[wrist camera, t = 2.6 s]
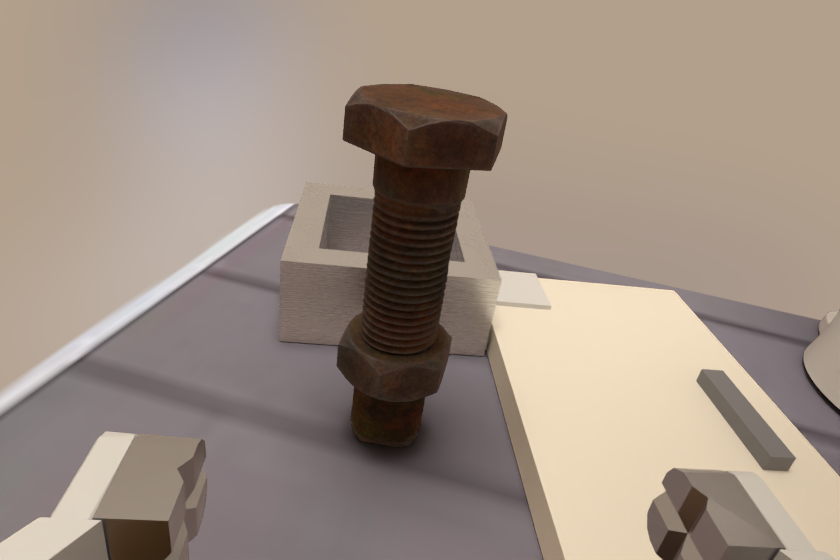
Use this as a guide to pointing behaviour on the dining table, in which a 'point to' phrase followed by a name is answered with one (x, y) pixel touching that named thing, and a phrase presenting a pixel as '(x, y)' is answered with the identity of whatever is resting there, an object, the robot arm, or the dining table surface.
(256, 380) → the dining table surface
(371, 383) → the bolt
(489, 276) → the hollow square frame
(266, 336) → the dining table surface
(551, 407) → the cabinet door
